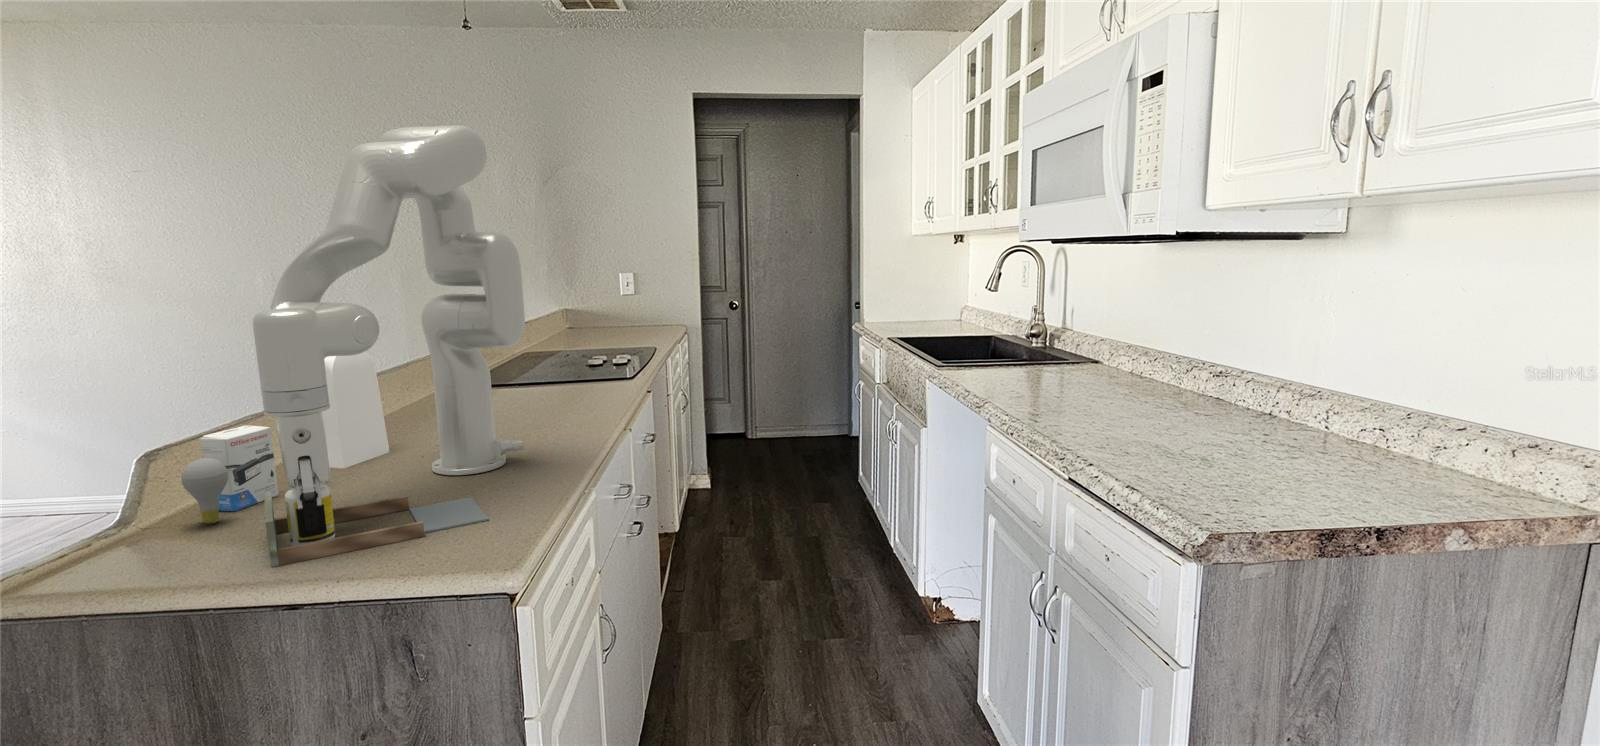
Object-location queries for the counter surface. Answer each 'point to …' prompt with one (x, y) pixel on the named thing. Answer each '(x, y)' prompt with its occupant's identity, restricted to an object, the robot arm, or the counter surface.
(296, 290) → the robot arm
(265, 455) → the ink box
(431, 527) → the mat
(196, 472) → the light bulb
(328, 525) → the supplement bottle
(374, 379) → the milk
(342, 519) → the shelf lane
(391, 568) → the counter surface
